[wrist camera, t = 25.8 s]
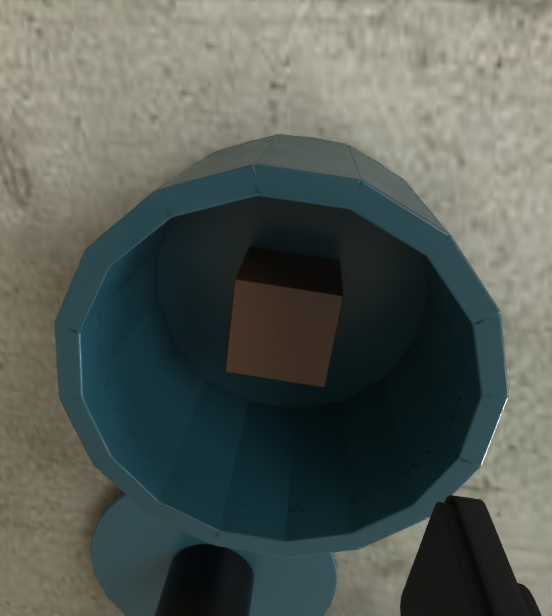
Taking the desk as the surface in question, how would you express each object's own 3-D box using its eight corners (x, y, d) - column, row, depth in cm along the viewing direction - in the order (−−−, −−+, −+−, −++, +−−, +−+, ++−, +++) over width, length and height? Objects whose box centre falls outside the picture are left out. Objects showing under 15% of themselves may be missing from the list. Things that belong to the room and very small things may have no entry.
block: (240, 327, 23) (224, 372, 20) (249, 246, 22) (234, 278, 18) (324, 340, 23) (325, 388, 20) (340, 260, 22) (344, 295, 18)
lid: (101, 613, 34) (52, 730, 28) (96, 443, 28) (32, 545, 22) (315, 650, 33) (313, 776, 27) (358, 486, 27) (368, 601, 21)
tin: (141, 391, 26) (65, 521, 18) (147, 112, 20) (41, 131, 13) (402, 432, 26) (436, 583, 18) (482, 162, 20) (581, 212, 12)
